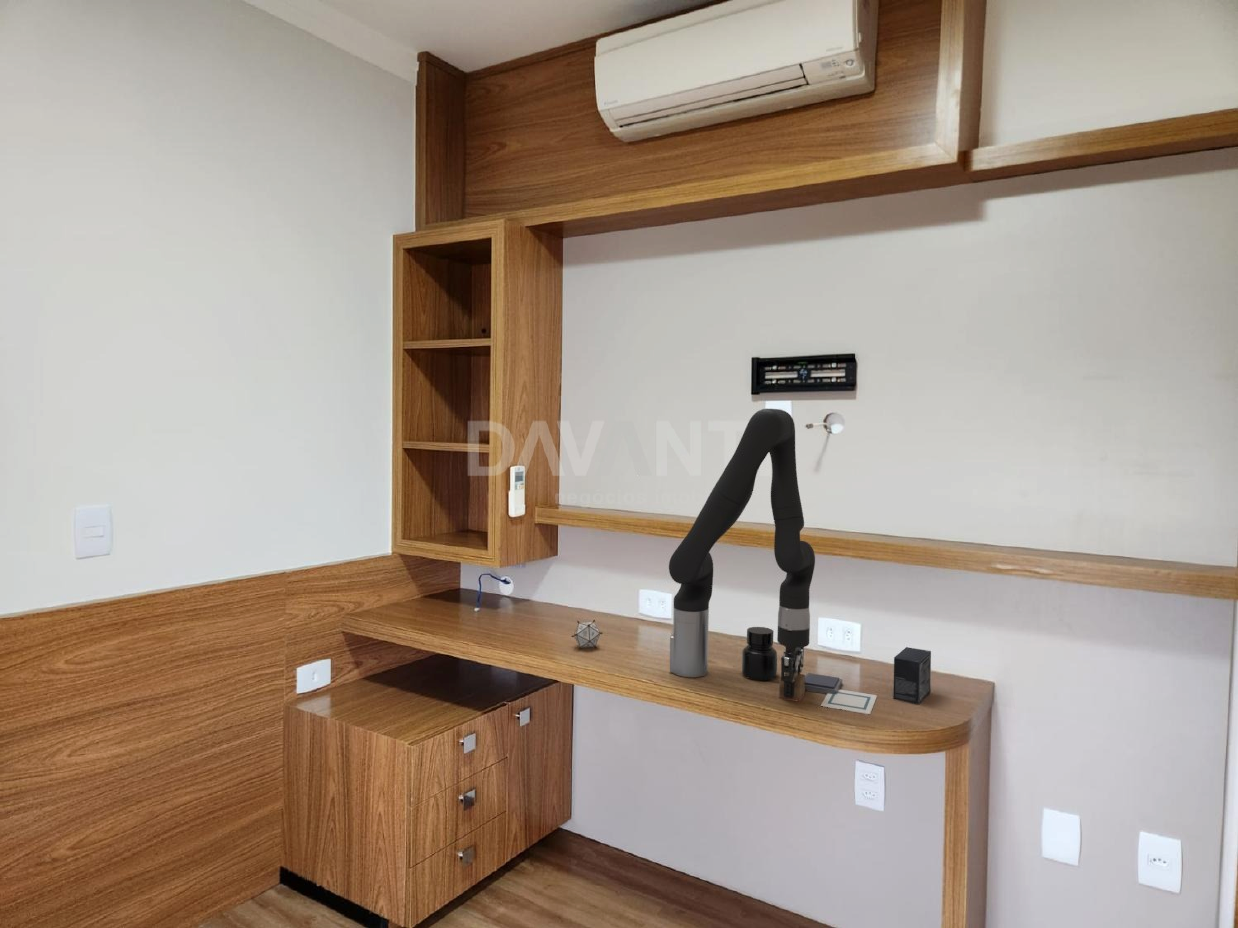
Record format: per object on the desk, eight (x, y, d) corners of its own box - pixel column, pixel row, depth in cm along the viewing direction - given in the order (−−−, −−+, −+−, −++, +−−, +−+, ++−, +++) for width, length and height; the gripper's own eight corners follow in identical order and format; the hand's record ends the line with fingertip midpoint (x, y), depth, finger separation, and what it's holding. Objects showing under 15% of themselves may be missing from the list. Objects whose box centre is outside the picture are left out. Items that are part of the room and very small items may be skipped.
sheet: (820, 706, 175) (820, 705, 175) (830, 688, 187) (830, 687, 187) (870, 714, 170) (870, 713, 170) (876, 696, 182) (876, 694, 182)
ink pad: (798, 689, 186) (799, 682, 186) (806, 678, 194) (806, 671, 194) (836, 695, 182) (836, 688, 182) (842, 683, 190) (842, 677, 190)
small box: (904, 686, 189) (905, 645, 189) (931, 692, 185) (932, 650, 185) (891, 698, 181) (892, 656, 180) (919, 705, 177) (921, 661, 176)
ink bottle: (784, 675, 196) (785, 630, 196) (766, 684, 190) (767, 637, 189) (752, 667, 203) (753, 623, 202) (734, 675, 196) (735, 630, 195)
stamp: (779, 698, 180) (779, 669, 180) (783, 691, 185) (784, 663, 184) (800, 701, 178) (800, 672, 178) (804, 694, 183) (805, 666, 182)
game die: (589, 658, 220) (605, 628, 224) (595, 656, 212) (611, 625, 216) (563, 643, 220) (579, 613, 223) (567, 641, 212) (584, 609, 216)
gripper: (785, 615, 189) (783, 680, 190) (770, 629, 176) (769, 699, 177) (815, 619, 185) (813, 685, 186) (803, 633, 172) (801, 704, 173)
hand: (792, 691), depth 181 cm, fingers open, 6 cm apart
